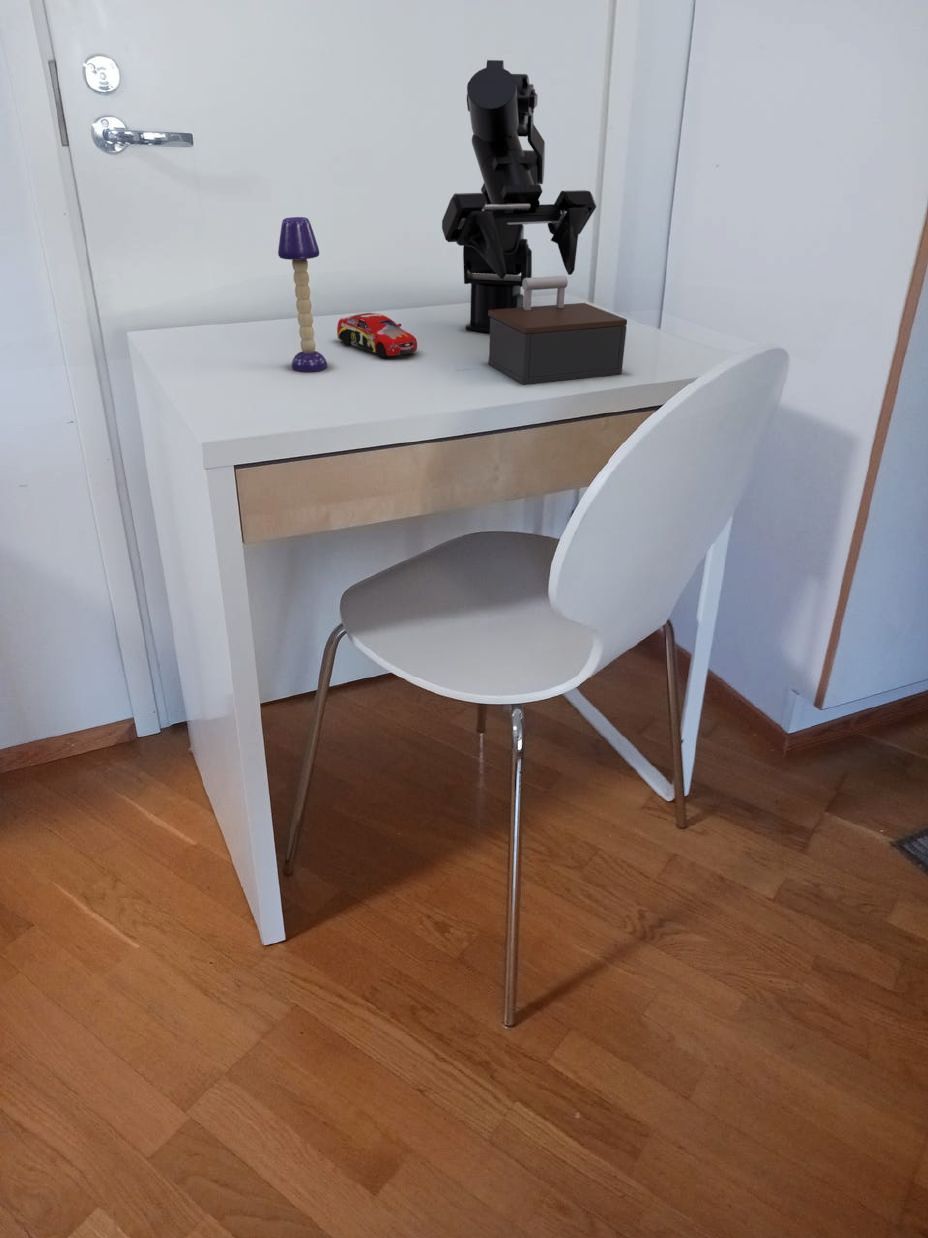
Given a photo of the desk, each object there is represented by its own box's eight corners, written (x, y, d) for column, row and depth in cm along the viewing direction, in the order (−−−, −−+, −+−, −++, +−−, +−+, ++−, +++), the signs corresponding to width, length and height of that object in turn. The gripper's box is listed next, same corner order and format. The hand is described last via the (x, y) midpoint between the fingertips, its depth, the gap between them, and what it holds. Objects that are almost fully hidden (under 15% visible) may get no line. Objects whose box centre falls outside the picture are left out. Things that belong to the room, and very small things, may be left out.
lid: (488, 315, 115) (489, 277, 113) (584, 308, 120) (587, 271, 118) (525, 333, 107) (527, 293, 105) (626, 325, 112) (630, 286, 110)
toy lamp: (293, 373, 112) (283, 221, 104) (281, 364, 115) (270, 216, 107) (332, 369, 114) (324, 219, 106) (318, 360, 117) (310, 214, 109)
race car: (424, 356, 120) (425, 324, 118) (389, 363, 117) (389, 329, 115) (366, 335, 129) (365, 304, 127) (332, 340, 126) (330, 309, 124)
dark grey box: (488, 364, 117) (490, 317, 115) (582, 355, 122) (586, 309, 119) (522, 384, 110) (525, 334, 107) (621, 374, 115) (626, 325, 112)
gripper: (546, 207, 129) (579, 308, 126) (417, 212, 122) (448, 318, 119) (579, 147, 119) (615, 255, 115) (440, 148, 112) (475, 262, 109)
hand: (538, 274), depth 115 cm, fingers open, 9 cm apart
